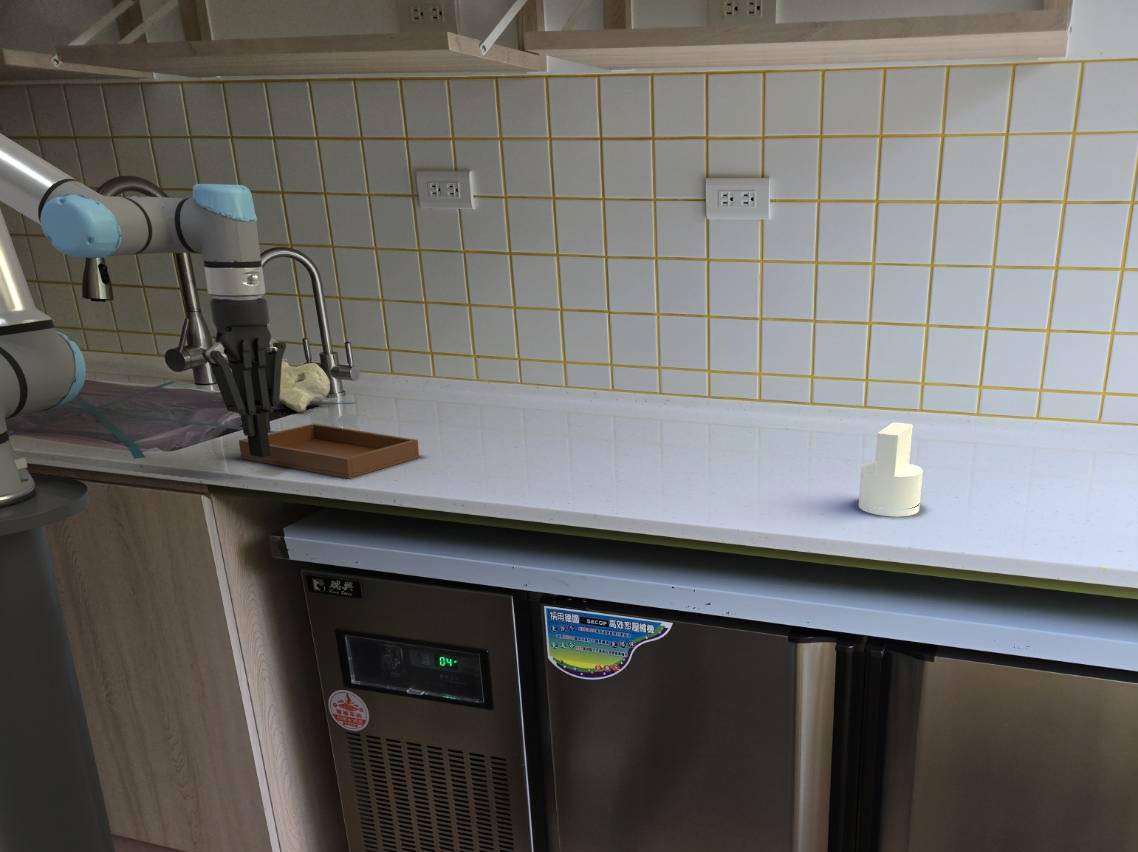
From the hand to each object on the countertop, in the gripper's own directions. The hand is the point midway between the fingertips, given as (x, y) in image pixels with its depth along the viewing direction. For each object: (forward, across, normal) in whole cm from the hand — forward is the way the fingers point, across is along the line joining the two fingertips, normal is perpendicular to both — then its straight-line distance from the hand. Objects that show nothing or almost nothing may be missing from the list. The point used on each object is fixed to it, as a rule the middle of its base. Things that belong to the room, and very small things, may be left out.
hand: (260, 455), depth 150 cm
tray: (+3, +14, 0) cm, 14 cm away
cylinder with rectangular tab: (+4, +35, -90) cm, 96 cm away
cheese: (+4, +40, +39) cm, 56 cm away
